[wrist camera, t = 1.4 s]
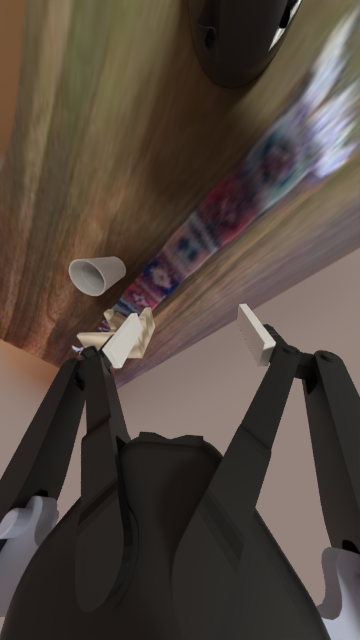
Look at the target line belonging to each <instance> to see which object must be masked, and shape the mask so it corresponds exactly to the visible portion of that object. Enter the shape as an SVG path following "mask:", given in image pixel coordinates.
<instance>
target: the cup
mask: <svg viewBox="0 0 360 640" xmlns="http://www.w3.org/2000/svg"><path fill="white" fill-rule="evenodd" d="M125 274H126V268H125V265H124V263H123V262H122V261H121V260H120V259H119V258H117V257H113V256H112V257H103V258H90V259H76V260H74V261H72V262H71V264H70V266H69V275H70V278H71V280H72V282H73V283H74V284H75V286H76V287H77V288H78V289H79V290H81V291H82V292H84V293H85V294H88V295H91V296H99V295H101V294H102V293H104V292H105V291H106V290H107V289H108V288H110V287H111V286H112V285H113V284H115V283H116V282H117V281H119V280H120V279H121V278H123V277H124V276H125Z"/></svg>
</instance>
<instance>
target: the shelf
mask: <svg viewBox="0 0 360 640" xmlns="http://www.w3.org/2000/svg"><path fill="white" fill-rule="evenodd" d="M104 316H105V318H106V320H107V322H108V324H109V326H110V328H111V330H110V331H109V332H101V333H79V334H78V335H77V337H78V338H79V340H80V341H81V343H82V344H83V346H84V347H85V348H87V347H89V346H95V347H96V348H97V350H99V349H100V348H101V347H102V345H103V344H104V343H105V342H106V341H107V339H108V338H109V337H110V336H111V335H113V334H115V333H116V332H117V330H118V329H119V328H120V327H121V325H122V324H123V323H124V322H125V321H126V319H127V318H126V317H125V316H123V315H121V314H120V313H118V312H116V313H115V312H114V309H108V310H107V311H105V312H104ZM138 318H139V321H140V323H141V326H142V331H141V333H140V335H139V337H138V339H137V340H136V342H135V344H134V346H133V348H132V349H131V351H130V353H129V355H128V357H127V358H142V357H143V355H144V353H145V350H146V348H147V346H148V343H149V341H150V338H151V336H152V334H153V331H154V329H155V324H154V320H153V315H152V311H151V307H150V308H145V309H144V310H143V312H142V313H141V314H140V315H139V317H138Z"/></svg>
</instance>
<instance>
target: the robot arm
mask: <svg viewBox="0 0 360 640" xmlns="http://www.w3.org/2000/svg"><path fill="white" fill-rule="evenodd" d="M301 2H302V0H188V9H189V21H190V28H191V34H192V39H193V44H194V47H195V51H196V54H197V57H198V59H199V61H200V64H201V66H202V68H203V69H204V71H205V72H206V74H207V75H208V76H209V78H210V79H211V80H212V81H214V82H215V83H216V84H218V85H220V86H222V87H225V88H237V87H240V86H243V85H245V84H247V83H249V82H250V81H252V80H253V79H254V78H256V77H257V76H258V75H259V74H260V73H261V72H262V71H263V70H264V69H265V68H266V66H267V65H268V64H269V63H270V61H271V60H272V59H273V57H274V56H275V54H276V53H277V51H278V50H279V48H280V46H281V44H282V43H283V41H284V39H285V37H286V35H287V33H288V31H289V29H290V27H291V24H292V22H293V20H294V18H295V16H296V14H297V11H298V9H299V7H300V5H301ZM237 325H238V327H239V329H240V331H241V333H242V335H243V337H244V339H245V341H246V343H247V345H248V346H249V349H250V351H251V353H252V355H253V357H254V359H255V361H256V363H257V365H258V366H268V364H269V362H270V366H269V368H268V371H267V372H266V374H265V376H264V378H263V380H262V382H261V384H260V386H259V388H258V390H257V392H256V395H255V396H254V398H253V401H252V403H251V405H250V407H249V409H248V411H247V413H246V415H245V417H244V419H243V421H242V423H241V424H240V426H239V427H238V429H237V431H236V433H235V435H234V437H233V439H232V441H231V443H230V445H229V447H228V449H227V451H226V453H225V455H224V457H223V456H222V454H221V453H220V452H219V451H218V450H217V449H216V448H215V447H214V446H213V445H211V444H210V443H208V442H206V441H204V440H203V436H193V435H185V436H181V437H178V438H174V439H167V438H165V437H162V436H161V435H158V434H156V433H152V432H151V433H150V432H140V434H139V437H136V438H134V439H133V440H131V438H130V436H129V435H128V432H127V428H126V424H125V420H124V416H123V413H122V409H121V405H120V401H119V397H118V393H117V389H116V385H115V382H114V378H113V374H112V370H111V368H110V367H111V365H113V367H114V368H121V367H122V366H123V364H124V362H125V360H126V358H127V357H128V355H129V353H130V351H131V349H132V348H133V346H134V344H135V342H136V340H137V339H138V337H139V335H140V333H141V331H142V326H141V323H140V321H139V318H138V315H137V313H131V314H130V316H129V317H128V318H127V319H126V321H125V322H124V323H123V324H122V325H121V327H120V328H119V329H118V330H117V332H116V333H115V334H113V335H111V336H110V337H109V338H108V339H107V341H106V342H105V343H104V344H103V345H102V347H101V348H100V349H99V350H97V348H96V347H95V346H89V347H87V348H85V349H83V350H82V351H81V353H80V355H81V356H82V357H83V359H84V360H80V361H79V360H78V359H77V358H71V359H69V360H67V361H65V362H64V363H63V364H62V366H61V367H60V370H59V371H58V373H57V375H56V377H55V379H54V381H53V382H52V384H51V386H50V388H49V390H48V392H47V394H46V396H45V397H44V399H43V401H42V403H41V405H40V407H39V409H38V410H37V412H36V414H35V416H34V418H33V420H32V422H31V423H30V425H29V427H28V429H27V431H26V433H25V435H24V437H23V438H22V440H21V443H20V444H19V446H18V448H17V450H16V452H15V453H14V455H13V457H12V459H11V461H10V463H9V465H8V466H7V468H6V470H5V472H4V474H3V476H2V478H1V480H0V617H5V621H4V624H3V627H2V630H1V634H0V640H360V397H359V394H358V392H357V390H356V388H355V386H354V384H353V382H352V380H351V377H350V375H349V373H348V371H347V369H346V367H345V365H344V363H343V361H342V359H341V358H340V357H339V356H337V355H335V354H333V353H331V352H328V351H323V350H319V351H316V352H315V353H314V355H313V354H308V353H302V352H300V351H299V350H298V349H297V348H295V347H293V346H290V345H288V344H287V343H286V342H285V341H284V340H283V339H282V338H281V336H280V335H278V333H277V332H276V331H275V329H274V328H273V327H271V326H269V325H268V324H265V325H262V324H261V323H260V322H259V320H258V319H257V318H256V316H255V315H254V314H253V312H252V311H251V310H250V309H249V307H248V306H247V305H246V304H239V308H238V317H237ZM294 377H295V378H299V379H302V384H303V390H304V396H305V402H306V409H307V416H308V422H309V429H310V435H311V442H312V449H313V455H314V462H315V468H316V475H317V481H318V488H319V494H320V500H321V506H322V511H323V516H324V521H325V525H326V529H327V532H328V535H329V539H330V543H331V546H332V547H328V548H326V549H324V551H323V553H322V568H323V573H324V579H325V585H326V589H325V591H326V592H325V598H324V600H323V603H322V604H320V605H318V606H315V604H314V602H313V600H312V598H311V597H310V595H309V593H308V591H307V590H306V588H305V586H304V585H303V583H302V582H301V580H300V578H299V577H298V575H297V574H296V572H295V571H294V569H293V567H292V566H291V564H290V562H289V561H288V559H287V558H286V556H285V554H284V553H283V552H282V550H281V548H280V546H279V545H278V543H277V542H276V540H275V538H274V537H273V535H272V534H271V532H270V530H269V529H268V527H267V526H266V524H265V522H264V521H263V519H262V518H261V516H260V514H259V513H258V511H257V510H256V508H255V506H256V503H257V500H258V497H259V494H260V490H261V487H262V484H263V481H264V477H265V474H266V471H267V467H268V464H269V461H270V458H271V449H272V445H273V442H274V439H275V435H276V432H277V429H278V426H279V423H280V420H281V417H282V414H283V410H284V407H285V404H286V401H287V398H288V395H289V391H290V388H291V385H292V382H293V379H294ZM85 400H86V420H87V421H86V422H87V434H86V435H85V436H84V437H83V438H82V442H81V497H80V498H79V499H78V500H77V501H76V502H75V504H74V505H73V506H72V507H71V508H70V510H69V511H68V512H67V513H66V514H65V515H64V516H63V518H62V519H61V520H60V521H59V522H58V524H57V525H56V523H57V521H58V518H59V511H58V510H57V500H58V497H59V495H60V492H61V489H62V486H63V483H64V480H65V477H66V473H67V470H68V466H69V462H70V458H71V454H72V451H73V447H74V443H75V439H76V435H77V431H78V427H79V423H80V419H81V415H82V411H83V408H84V403H85ZM55 525H56V526H55ZM54 526H55V527H54Z"/></svg>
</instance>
